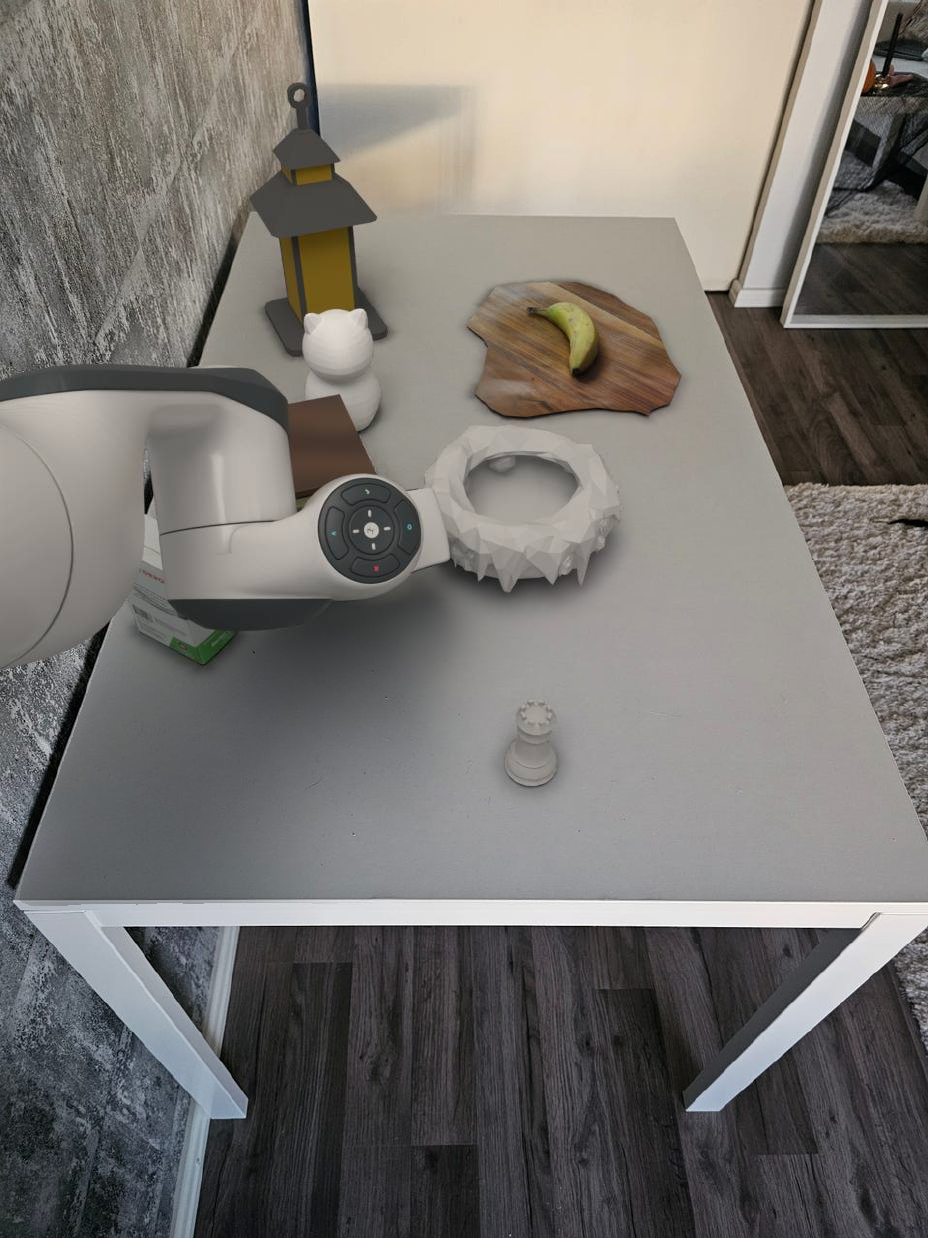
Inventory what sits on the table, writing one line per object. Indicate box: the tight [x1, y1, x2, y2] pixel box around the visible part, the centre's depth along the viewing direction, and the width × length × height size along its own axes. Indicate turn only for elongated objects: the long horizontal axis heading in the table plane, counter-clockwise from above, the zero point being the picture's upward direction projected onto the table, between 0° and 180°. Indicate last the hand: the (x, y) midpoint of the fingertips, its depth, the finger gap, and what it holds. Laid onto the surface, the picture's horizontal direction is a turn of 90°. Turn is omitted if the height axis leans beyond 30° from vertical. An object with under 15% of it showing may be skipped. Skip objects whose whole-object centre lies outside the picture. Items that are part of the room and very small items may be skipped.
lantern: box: [248, 81, 388, 357], centre depth 116 cm, size 14×14×30 cm
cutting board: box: [466, 281, 682, 418], centre depth 122 cm, size 35×27×4 cm
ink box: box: [126, 513, 236, 665], centre depth 83 cm, size 9×5×12 cm, turn 58°
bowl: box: [422, 424, 625, 593], centre depth 93 cm, size 21×20×10 cm
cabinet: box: [288, 394, 378, 498], centre depth 96 cm, size 15×14×10 cm
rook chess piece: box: [504, 698, 557, 787], centre depth 75 cm, size 4×4×8 cm
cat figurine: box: [302, 309, 382, 432], centre depth 107 cm, size 9×12×15 cm
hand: (327, 555), depth 87 cm, fingers closed, pressing on drawer
